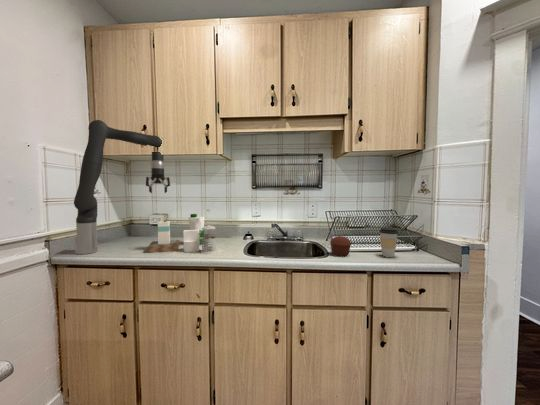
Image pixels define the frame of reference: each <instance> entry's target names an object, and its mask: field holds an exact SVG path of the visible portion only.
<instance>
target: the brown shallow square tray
mask: <svg viewBox="0 0 540 405" xmlns="http://www.w3.org/2000/svg"><path fill="white" fill-rule="evenodd" d="M179 247H180V240H179V239H173V240H172V239H170V243H169V244H158V240H156V241H155V240H152V241H151V242H150V243H149V244H148V245H147V247H146V252H147V254H153V253H154V254H155V253H156V254H157V253H167V252H168V253H172V252H178V251H179Z"/></svg>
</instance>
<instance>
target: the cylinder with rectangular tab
mask: <svg viewBox="0 0 540 405" xmlns="http://www.w3.org/2000/svg"><path fill="white" fill-rule="evenodd" d="M182 232H183V252H184V253H185V252H186V253H195V252H199V251H200V245H199V239H198V237H199V235H198V234H199V230H189V229H184V230H183V231H182Z"/></svg>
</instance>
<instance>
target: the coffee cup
mask: <svg viewBox="0 0 540 405" xmlns="http://www.w3.org/2000/svg"><path fill="white" fill-rule="evenodd" d="M378 233H380V234H379V236H380V237H379V238H380V239H379V240H380V248H381V256H382V255H383V256H382V257H384V256H385V257H384V258H389V257H391V258H395V253H396V248H397V241H398V234H399V231H398V229H397V228H392V227H381V228H380V229H379V231H378Z"/></svg>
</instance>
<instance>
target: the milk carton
mask: <svg viewBox="0 0 540 405" xmlns="http://www.w3.org/2000/svg"><path fill="white" fill-rule="evenodd" d="M188 227H189V229H188V230H199V232H200V231H202V228H203V227H205V216H198V214H197V213H191V214H190V217H188ZM203 232H204V233H202V232H201V233H199V246H202V243H201V242H202V238H203V239H204V237H203V235H205V230H204V231H203ZM200 239H201V240H200ZM203 242H204V241H203Z"/></svg>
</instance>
